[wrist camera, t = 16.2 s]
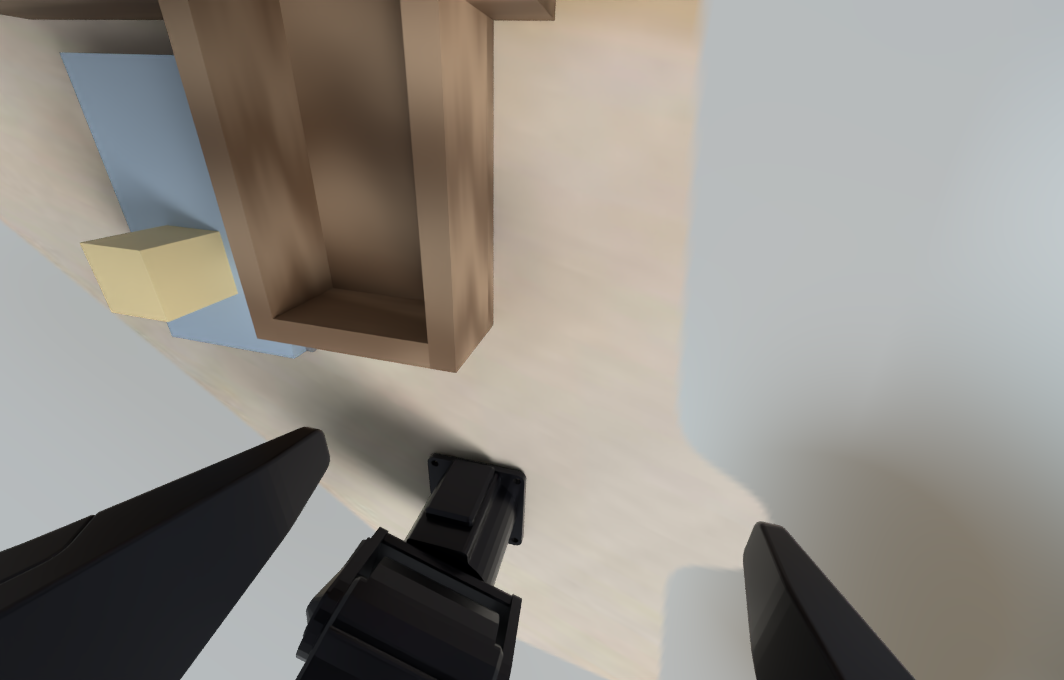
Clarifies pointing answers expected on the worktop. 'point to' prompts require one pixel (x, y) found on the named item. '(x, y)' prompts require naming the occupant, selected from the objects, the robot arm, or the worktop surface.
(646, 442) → the worktop surface
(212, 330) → the lid
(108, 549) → the robot arm
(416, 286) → the brown wooden box
